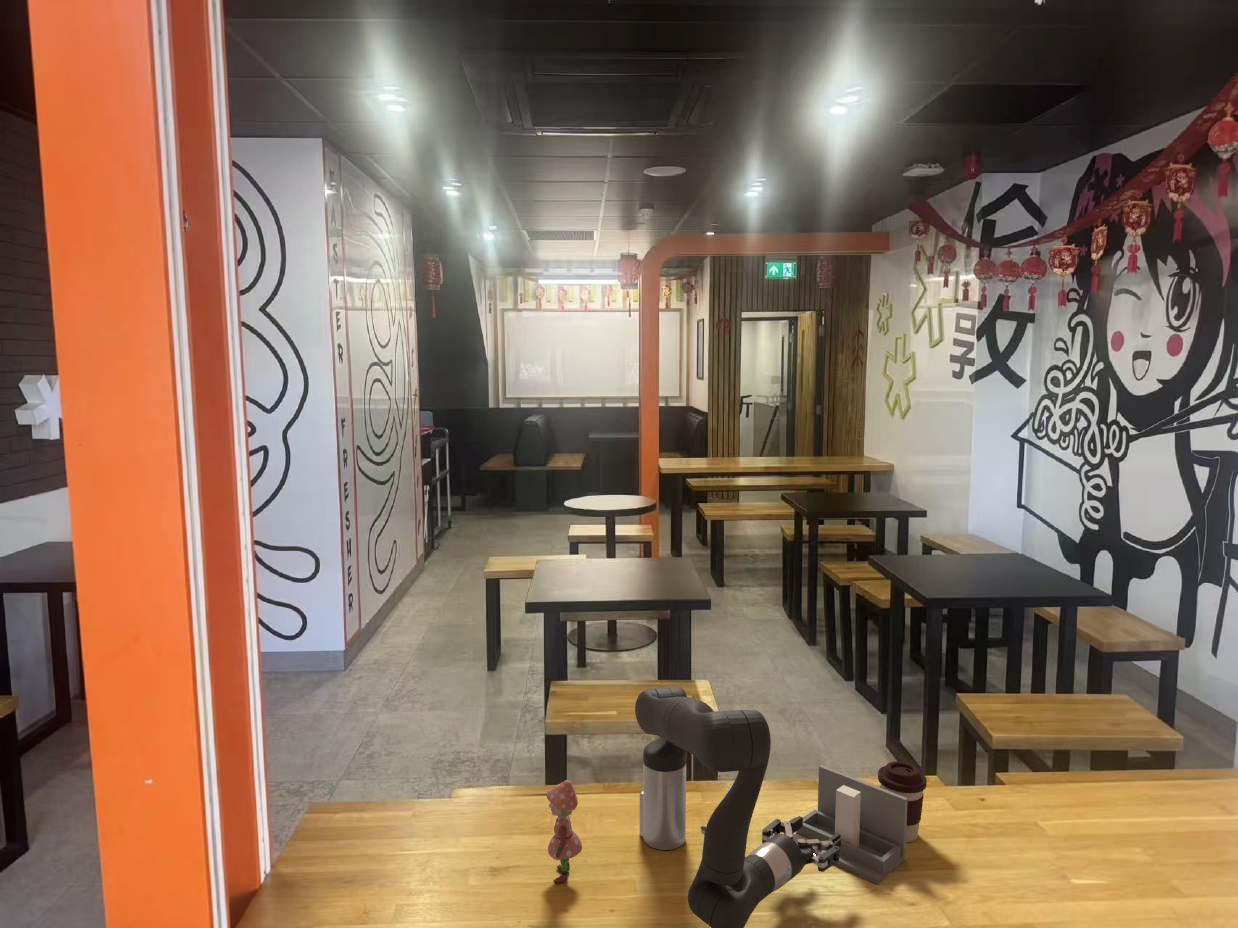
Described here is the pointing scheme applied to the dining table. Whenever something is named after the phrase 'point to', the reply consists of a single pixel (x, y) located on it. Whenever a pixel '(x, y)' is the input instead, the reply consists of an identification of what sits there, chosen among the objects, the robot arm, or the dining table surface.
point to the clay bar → (848, 814)
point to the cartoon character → (563, 827)
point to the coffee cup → (905, 791)
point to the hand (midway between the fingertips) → (819, 829)
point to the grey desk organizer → (861, 826)
